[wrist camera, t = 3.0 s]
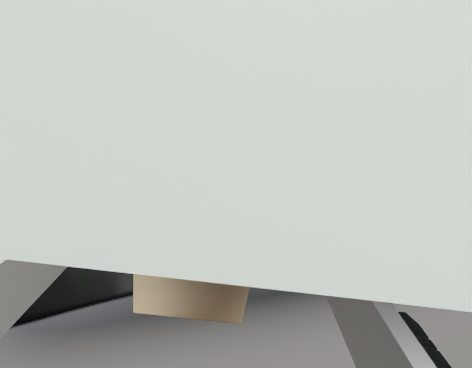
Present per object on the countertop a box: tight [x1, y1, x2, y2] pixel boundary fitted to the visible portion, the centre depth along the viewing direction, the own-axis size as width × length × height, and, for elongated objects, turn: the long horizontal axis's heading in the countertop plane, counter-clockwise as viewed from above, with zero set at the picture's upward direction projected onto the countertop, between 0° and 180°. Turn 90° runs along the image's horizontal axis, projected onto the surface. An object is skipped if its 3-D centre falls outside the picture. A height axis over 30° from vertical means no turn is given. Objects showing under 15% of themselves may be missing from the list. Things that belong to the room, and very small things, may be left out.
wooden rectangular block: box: [133, 274, 250, 324], centre depth 15 cm, size 5×15×12 cm, turn 172°
